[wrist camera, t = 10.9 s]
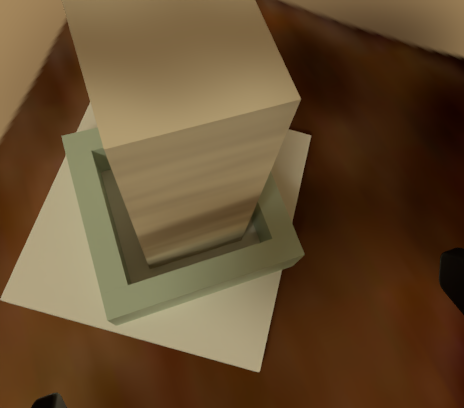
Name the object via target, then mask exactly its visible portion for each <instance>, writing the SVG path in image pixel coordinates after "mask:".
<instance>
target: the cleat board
mask: <svg viewBox="0 0 464 408" xmlns="http://www.w3.org/2000/svg"><path fill="white" fill-rule="evenodd" d="M310 139H311V135H308V134H304V133H301V132H297V131H293V130H290V129H288V131H287V134H286V136H285V138H284V141H283V143H282V146H281V148H280V150H279V153H278V155H277V157H276V160H275V162H274V164H273V167H272V169H271V171H270V174H269V176H268V179H267V181H266V183H265V186H264V188H263V190H262V193H261V195H260V197H259V200H258V202H257V204H256V207H255V209H254V212H253V214H252V216H251V219H250V221H249V223H248V226H247V228H246V230H245V233H244V235H243V237H242V240H241V241H237V242H234V243H231V244H228V245H225V246H222V247H219V248H215V249H212V250H209V251H206V252H203V253H200V254H197V255H193V256H190V257H187V258H184V259H181V260H178V261H175V262H171V263H168V264H165V265H162V266H159V267H156V268H153V269H149V266H148V263H147V261H146V258H145V255H144V253H143V250H142V248H141V245H140V242H139V240H138V237H137V235H136V232H135V229H134V227H133V224H132V222H131V219H130V216H129V214H128V211H127V208H126V206H125V203H124V201H123V198H122V195H121V193H120V190H119V188H118V185H117V182H116V180H115V177H114V175H113V172H112V169H111V167H110V164H109V161H108V159H107V156H106V154H105V151H104V148H103V144H102V141H101V137H100V134H99V130H98V127H97V123H96V120H95V116H94V113H93V109H92V106H91V102H90V104H89V106H88V108H87V110H86V113H85V115H84V117H83V119H82V121H81V123H80V126H79V128H78V130H77V132H76V133H72V134H68V135H64V136H62V140H63V144H64V148H65V152H66V156H65V158H64V161H63V163H62V165H61V167H60V169H59V172H58V174H57V176H56V178H55V180H54V183H53V185H52V187H51V189H50V191H49V193H48V196H47V198H46V200H45V202H44V204H43V207H42V209H41V211H40V213H39V215H38V218H37V220H36V222H35V224H34V226H33V228H32V231H31V233H30V235H29V237H28V239H27V242H26V244H25V246H24V248H23V250H22V253H21V255H20V257H19V259H18V261H17V263H16V266H15V268H14V270H13V272H12V274H11V277H10V279H9V281H8V283H7V285H6V288H5V290H4V292H3V294H2V296H1V298H0V300H2V301H5V302H8V303H11V304H15V305H18V306H22V307H25V308H29V309H33V310H36V311H40V312H43V313H47V314H51V315H54V316H58V317H61V318H65V319H68V320H72V321H76V322H79V323H83V324H86V325H90V326H94V327H97V328H101V329H104V330H108V331H112V332H115V333H119V334H122V335H126V336H129V337H133V338H137V339H140V340H144V341H147V342H151V343H155V344H158V345H162V346H165V347H169V348H172V349H176V350H180V351H183V352H187V353H190V354H194V355H198V356H201V357H205V358H208V359H212V360H216V361H219V362H223V363H226V364H230V365H233V366H237V367H241V368H244V369H248V370H251V371H255V372H260V368H261V364H262V359H263V355H264V350H265V346H266V341H267V336H268V332H269V327H270V323H271V318H272V313H273V309H274V304H275V300H276V295H277V290H278V286H279V281H280V277H281V272H282V270H283V269H286V268H289V267H292V266H294V265H295V264H296V263H297V262H298V261H299V260H300V259H301V258H302V257H303V256H304V255H305V254H304V251H303V249H302V246H301V244H300V241H299V239H298V237H297V234H296V232H295V229H294V227H293V224H292V222H293V217H294V212H295V208H296V203H297V199H298V194H299V190H300V185H301V180H302V176H303V171H304V167H305V162H306V157H307V153H308V148H309V144H310Z"/></svg>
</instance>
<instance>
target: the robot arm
mask: <svg viewBox="0 0 464 408" xmlns="http://www.w3.org/2000/svg"><path fill="white" fill-rule="evenodd" d="M439 283H440V286H441V288H442V289H443V291H444V292H445V293H446V294H447V296H448V297H449V298H450V299H451V300H452V301H453V303H454V304H455V305H456V306H457V307H458V309H459V310H460V311H461V312H462V313H463V315H464V249H463V248H454V249H451V250H448V251H446V252H444V253H442V255H441V257H440V270H439ZM31 408H67V407H66V405H65V403H64V401H63V399H62V397H61V395H60V394H59V393H52V394H49V395H47V396H44V397H41V398H39V399H37V400H36V401H35V402H34V404H33V405H32V407H31Z"/></svg>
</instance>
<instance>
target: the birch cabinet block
mask: <svg viewBox="0 0 464 408" xmlns="http://www.w3.org/2000/svg"><path fill="white" fill-rule="evenodd" d="M62 3H63V7H64V10H65V14H66V17H67V21H68V24H69V28H70V31H71V35H72V39H73V42H74V46H75V49H76V53H77V56H78V60H79V63H80V67H81V70H82V74H83V77H84V81H85V84H86V88H87V92H88V95H89V99H90V102H91V106H92V109H93V113H94V116H95V120H96V123H97V127H98V130H99V134H100V137H101V141H102V144H103V148H104V151H105V154H106V156H107V159H108V161H109V164H110V167H111V169H112V172H113V175H114V177H115V180H116V182H117V185H118V188H119V190H120V193H121V195H122V198H123V201H124V203H125V206H126V208H127V211H128V214H129V216H130V219H131V222H132V224H133V227H134V229H135V232H136V235H137V237H138V240H139V242H140V245H141V248H142V250H143V253H144V255H145V258H146V261H147V263H148V266H149V269H153V268H156V267H159V266H162V265H165V264H168V263H171V262H175V261H178V260H181V259H184V258H187V257H190V256H193V255H197V254H200V253H203V252H206V251H209V250H212V249H215V248H219V247H222V246H225V245H228V244H231V243H234V242H237V241H241V240H242V237H243V235H244V233H245V230H246V228H247V226H248V223H249V221H250V219H251V216H252V214H253V212H254V209H255V207H256V204H257V202H258V200H259V197H260V195H261V193H262V190H263V188H264V186H265V183H266V181H267V179H268V176H269V174H270V171H271V169H272V167H273V164H274V162H275V160H276V157H277V155H278V153H279V150H280V148H281V146H282V143H283V141H284V138H285V136H286V134H287V131H288V129H289V127H290V124H291V122H292V120H293V117H294V115H295V113H296V110H297V108H298V105H299V103H300V101H301V98H300V96H299V94H298V91H297V89H296V87H295V85H294V83H293V81H292V79H291V76H290V74H289V72H288V70H287V68H286V66H285V64H284V61H283V59H282V57H281V55H280V53H279V51H278V48H277V46H276V44H275V42H274V40H273V38H272V36H271V33H270V31H269V29H268V27H267V25H266V23H265V21H264V18H263V16H262V14H261V12H260V10H259V8H258V6H257V3H256V1H255V0H62Z"/></svg>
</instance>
